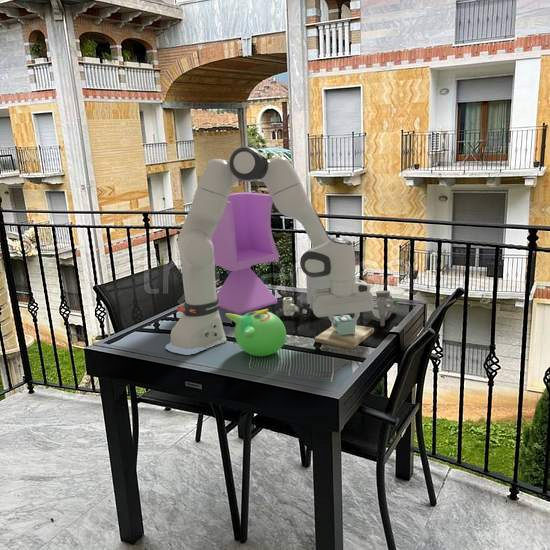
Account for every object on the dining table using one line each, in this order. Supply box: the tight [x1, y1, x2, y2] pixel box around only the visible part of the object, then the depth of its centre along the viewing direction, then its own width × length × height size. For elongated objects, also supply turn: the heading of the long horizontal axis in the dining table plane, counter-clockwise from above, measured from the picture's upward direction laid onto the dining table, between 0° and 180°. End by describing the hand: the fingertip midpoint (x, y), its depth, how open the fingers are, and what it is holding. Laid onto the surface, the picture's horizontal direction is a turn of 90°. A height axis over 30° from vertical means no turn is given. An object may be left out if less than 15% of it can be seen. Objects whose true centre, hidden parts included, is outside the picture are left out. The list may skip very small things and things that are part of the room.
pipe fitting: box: [368, 290, 399, 322], centre depth 198 cm, size 12×8×10 cm
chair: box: [211, 192, 280, 316], centre depth 219 cm, size 22×22×45 cm
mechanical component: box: [373, 297, 398, 327], centre depth 189 cm, size 3×10×10 cm, turn 59°
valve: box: [282, 296, 313, 321], centre depth 205 cm, size 7×7×12 cm
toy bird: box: [225, 308, 287, 357], centre depth 172 cm, size 18×17×15 cm
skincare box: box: [305, 274, 329, 312], centre depth 212 cm, size 8×6×15 cm
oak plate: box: [314, 324, 375, 350], centre depth 182 cm, size 16×14×2 cm
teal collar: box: [332, 314, 355, 335], centre depth 181 cm, size 7×5×4 cm
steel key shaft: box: [340, 317, 349, 335], centre depth 181 cm, size 4×2×5 cm, turn 9°
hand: (344, 325), depth 181 cm, fingers closed on teal collar, 5 cm apart
